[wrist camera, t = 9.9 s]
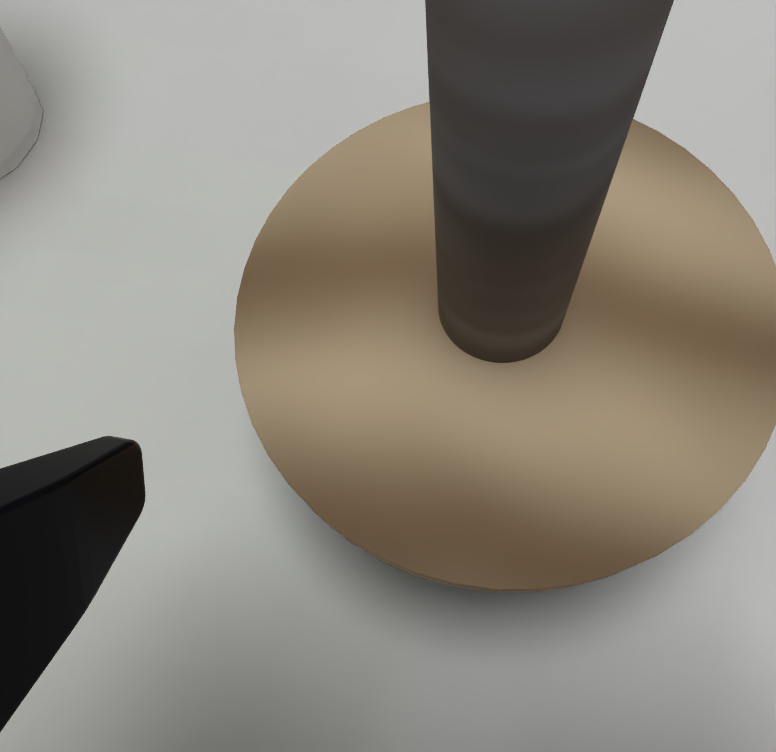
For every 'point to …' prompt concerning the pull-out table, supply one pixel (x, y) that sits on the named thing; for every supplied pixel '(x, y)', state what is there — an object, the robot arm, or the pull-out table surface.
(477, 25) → the paper towel holder
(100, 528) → the robot arm
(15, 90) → the foam cup
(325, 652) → the pull-out table surface
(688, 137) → the pull-out table surface
